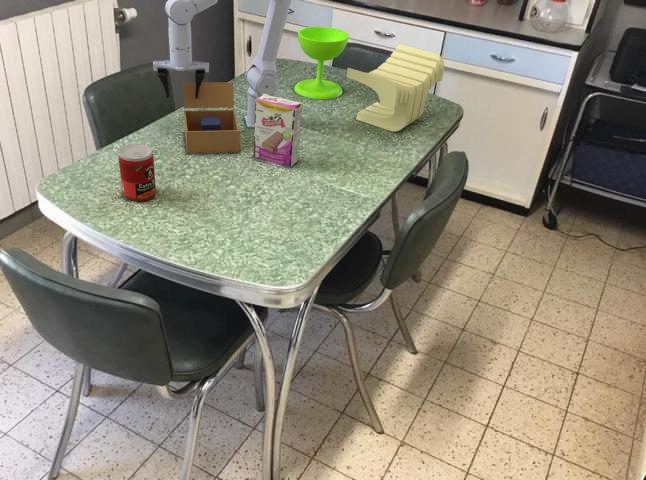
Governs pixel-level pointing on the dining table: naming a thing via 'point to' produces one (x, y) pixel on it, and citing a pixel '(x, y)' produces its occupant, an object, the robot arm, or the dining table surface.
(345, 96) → the dining table surface
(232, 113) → the carton
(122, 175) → the canned food
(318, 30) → the wineglass
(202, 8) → the robot arm
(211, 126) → the cube
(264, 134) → the candy bar box
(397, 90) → the slatted curved stool
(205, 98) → the flap
